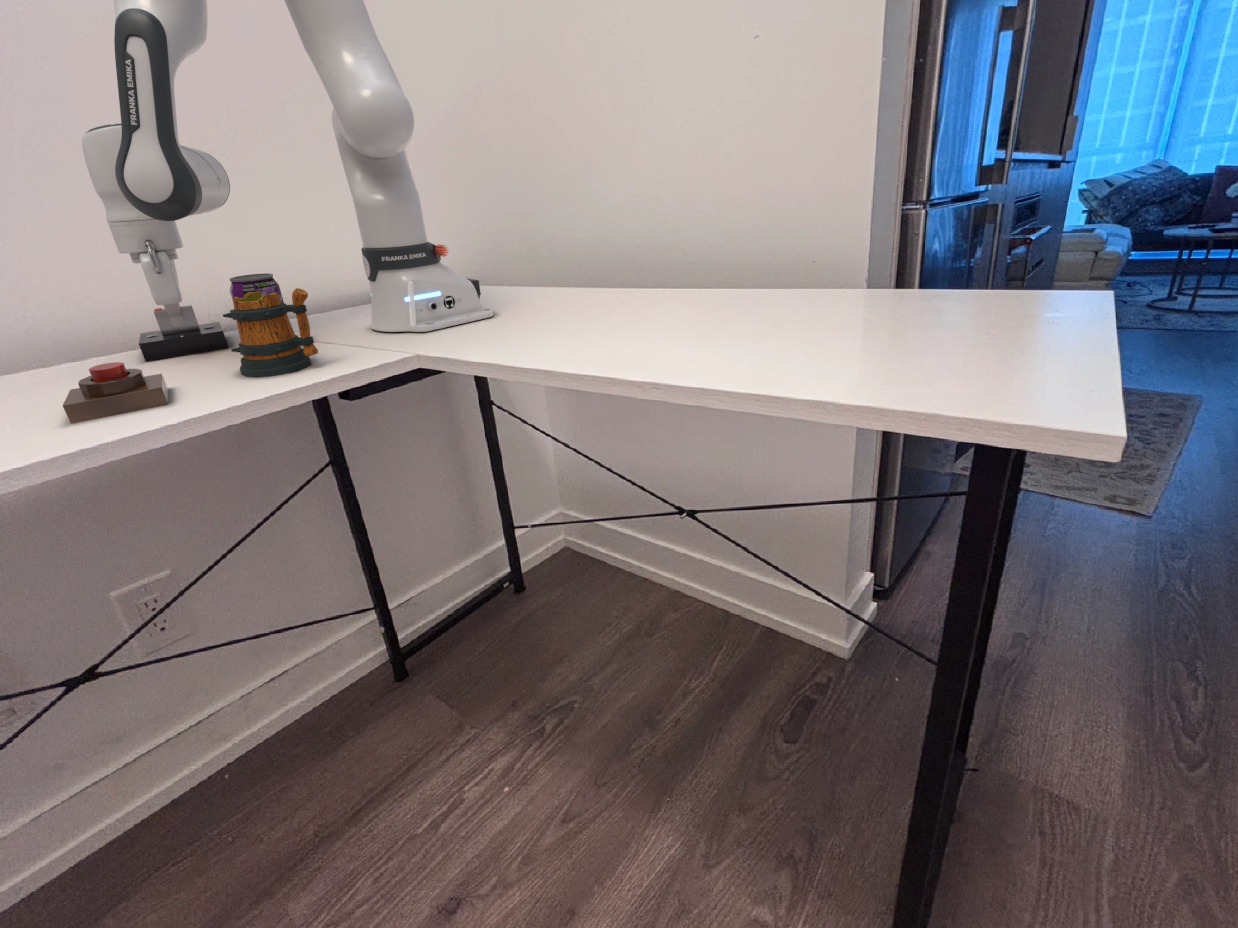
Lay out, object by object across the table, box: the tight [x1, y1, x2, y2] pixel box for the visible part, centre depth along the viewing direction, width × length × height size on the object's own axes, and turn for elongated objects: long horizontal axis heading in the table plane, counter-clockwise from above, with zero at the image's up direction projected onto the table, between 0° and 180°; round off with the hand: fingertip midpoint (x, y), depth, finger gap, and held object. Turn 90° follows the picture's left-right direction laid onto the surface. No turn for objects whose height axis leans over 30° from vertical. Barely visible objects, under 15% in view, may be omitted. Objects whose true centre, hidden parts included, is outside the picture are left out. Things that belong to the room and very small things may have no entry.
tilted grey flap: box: [153, 304, 200, 335], centre depth 106 cm, size 6×2×4 cm, turn 124°
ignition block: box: [62, 368, 169, 424], centre depth 80 cm, size 10×8×4 cm
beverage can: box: [229, 272, 289, 317], centre depth 101 cm, size 7×7×12 cm
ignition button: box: [88, 361, 128, 382], centre depth 79 cm, size 4×4×2 cm
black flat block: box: [138, 321, 230, 363], centre depth 107 cm, size 12×10×3 cm
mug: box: [222, 287, 319, 379], centre depth 91 cm, size 13×10×12 cm
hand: (178, 324), depth 106 cm, fingers closed on tilted grey flap, 2 cm apart
